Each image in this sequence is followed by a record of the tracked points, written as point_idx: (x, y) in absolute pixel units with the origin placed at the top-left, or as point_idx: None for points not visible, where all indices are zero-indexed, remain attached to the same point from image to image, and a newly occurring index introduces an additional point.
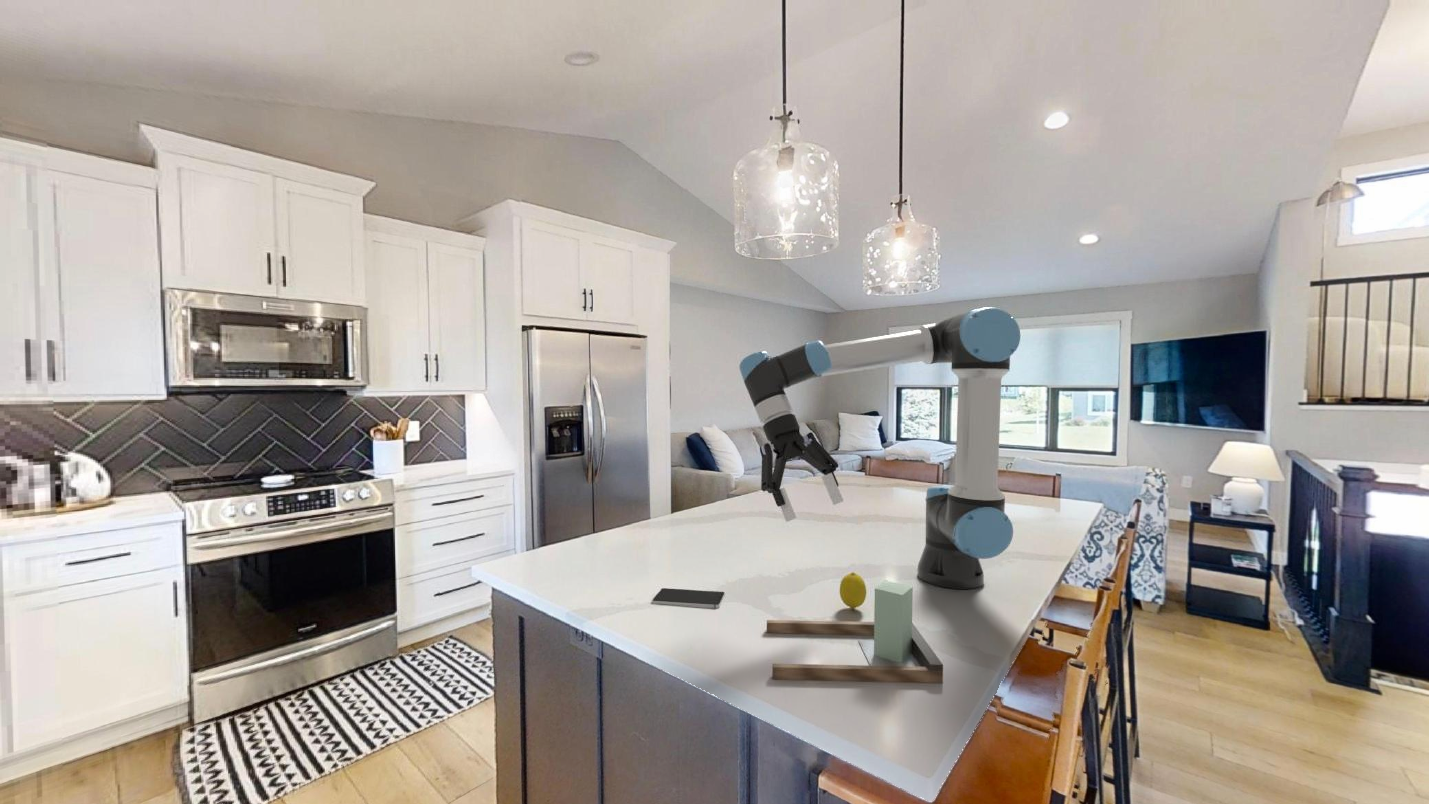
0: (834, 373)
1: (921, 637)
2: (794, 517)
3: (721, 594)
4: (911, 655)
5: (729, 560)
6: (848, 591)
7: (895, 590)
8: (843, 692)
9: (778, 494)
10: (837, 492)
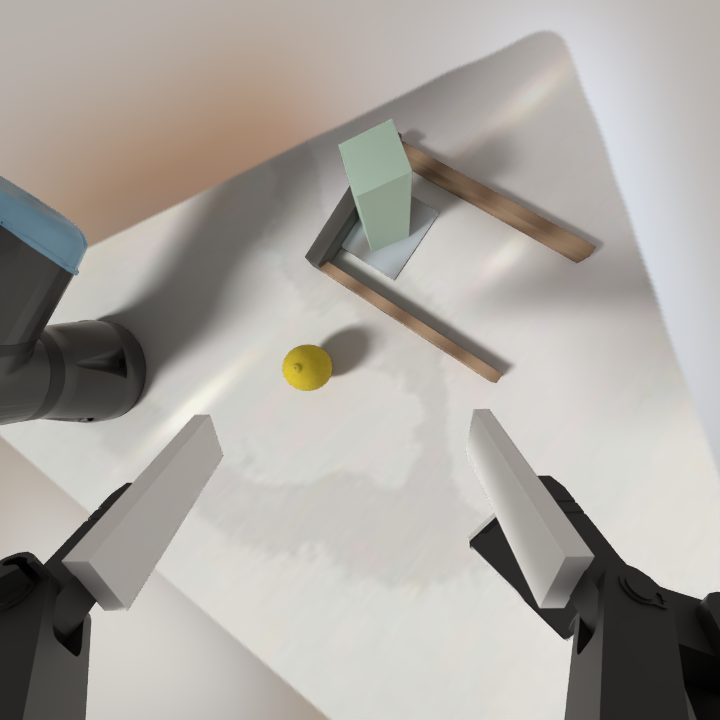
0: None
1: (344, 198)
2: (484, 411)
3: (480, 537)
4: None
5: (348, 681)
6: (326, 358)
7: (384, 144)
8: (518, 184)
9: (591, 535)
10: (183, 444)
